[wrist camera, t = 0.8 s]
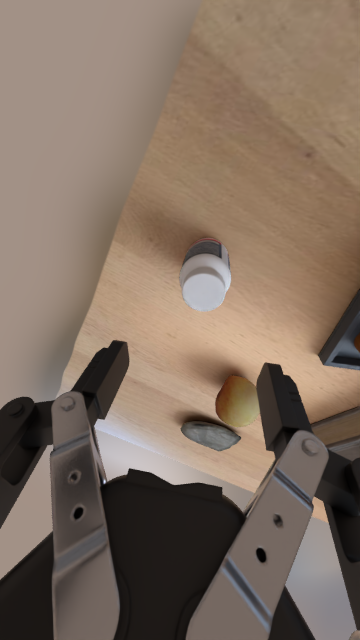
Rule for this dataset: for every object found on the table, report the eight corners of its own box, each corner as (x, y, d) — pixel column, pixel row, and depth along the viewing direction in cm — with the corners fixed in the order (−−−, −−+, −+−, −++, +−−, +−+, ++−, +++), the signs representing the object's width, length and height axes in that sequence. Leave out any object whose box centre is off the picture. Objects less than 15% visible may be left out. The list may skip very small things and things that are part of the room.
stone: (242, 432, 49) (244, 447, 46) (216, 444, 54) (216, 458, 51) (197, 408, 46) (196, 422, 43) (174, 424, 51) (171, 437, 48)
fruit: (227, 398, 42) (228, 439, 35) (206, 372, 38) (203, 413, 32) (265, 388, 39) (274, 433, 32) (246, 360, 35) (252, 402, 29)
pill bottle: (177, 255, 26) (162, 287, 19) (211, 227, 24) (208, 252, 17) (203, 285, 28) (198, 325, 21) (237, 262, 26) (244, 298, 19)
